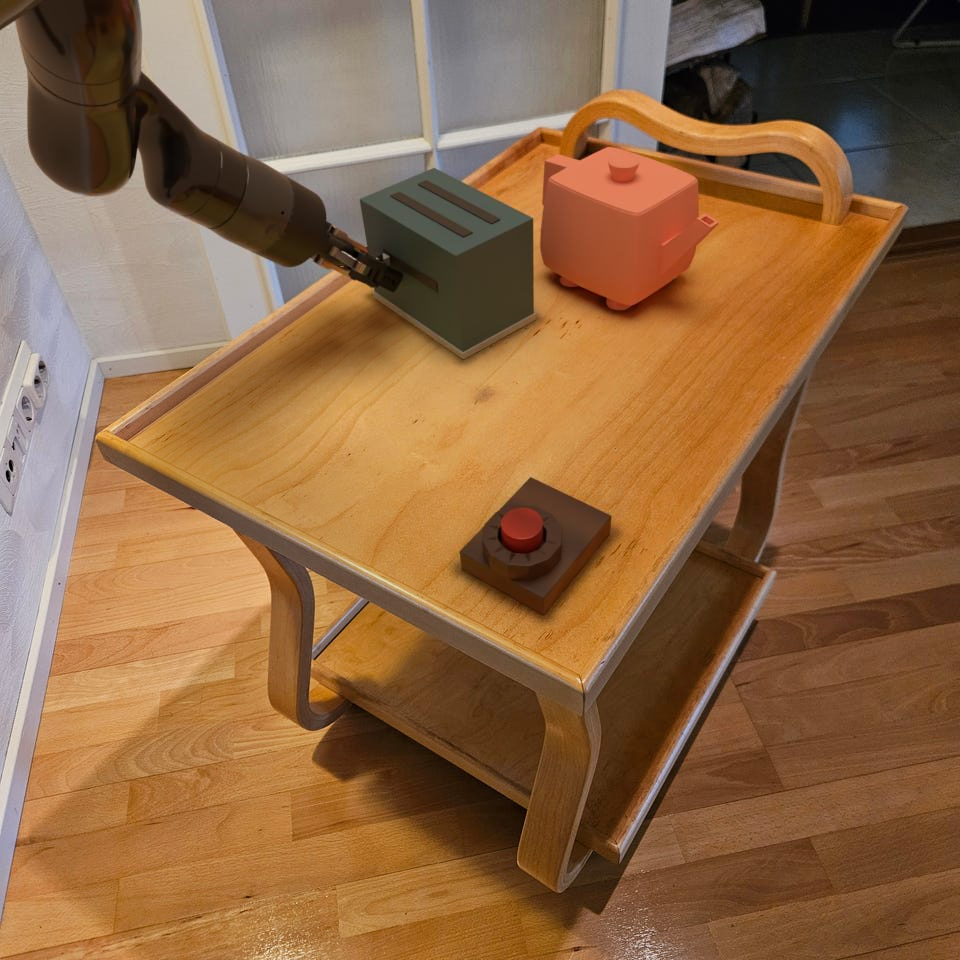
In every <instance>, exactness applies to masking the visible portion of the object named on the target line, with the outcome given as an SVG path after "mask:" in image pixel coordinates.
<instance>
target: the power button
mask: <svg viewBox="0 0 960 960" xmlns="http://www.w3.org/2000/svg"><path fill="white" fill-rule="evenodd" d="M501 536H502V542H503V544H504V546H505V547H506V548H507V549H508V550H510V551H512V552H515V553H530V552H532V551H534V550H536V549H537V548H538V547H539V546H540V545H541V543H542V541H543V520H542V518H541V516H540V515H539V514H538V513H537V512H536V511H534V510H532V509H528V508H516V509H513V510H510V511H509V512H507V513H506V514H505V515H504V516H503V518H502V520H501Z"/></svg>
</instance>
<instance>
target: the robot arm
mask: <svg viewBox="0 0 960 960" xmlns="http://www.w3.org/2000/svg"><path fill="white" fill-rule="evenodd" d="M141 14H142V13H141V8H140V0H0V32H1V31H2V30H3V29H5V28H7V27H8V26H9V25H11V24H13V23H15V27H16V33H17V36H18V41H19V45H20V49H21V54H22V57H23V58H22V59H23V61H24V64H25V68H26V76H27V96H26V97H27V99H26V126H27V127H26V129H27V130H26V131H27V133H26V134H27V142H28V149H29V152H30V155H31V157H32V159H33V161H34V163H35V165H37V167H38V168H39V170H40V171H41V172H42V173H43V174H44V175H45V176H46V177H47V178H48V179H49V180H50V181H52V182H53V183H54V184H55V185H57V186H59V187H60V188H62V189H64V190H65V191H67V192H70V193H73V194H76V195H79V196H84V197H94V198H95V197H103V196H104V197H105V196H109V195H112V194H114V193H117V192H119V191H120V190H121V189H123V188H124V187H125V186H126V185H127V184H128V183H129V182H130V180H131V179H132V177H133V175H134V173H135V172H134V171H135V168H136V163H137V162H136V161H137V157H138V156H137V155H138V152H139V155H140V159H141V165H142V172H143V179H144V184H145V188H146V191H147V193H148V195H149V197H150V198H151V199H152V200H153V201H154V202H155V203H156V204H157V205H159V206H160V207H162V208H164V209H166V210H168V211H170V212H171V213H174V214H177V215H179V216H180V217H183V218H184V219H186V220H189V221H191V222H193V223H195V224H198V225H199V226H202V227H205V228H206V229H208V230H210V231H212V233H214V234H216V235H217V236H218V237H220V238H222V239H223V240H225V241H227V242H230V243H231V244H234V245H236V246H238V247H241V248H242V249H244V250H246V251H249V252H250V253H252V254H255V255H258V256H259V257H262V258H263V259H266V260H268V261H269V262H272V263H274V264H276V265H279V266H281V267H284V268H295V267H298V266H300V265H302V264H304V263H305V262H307V261H308V260H309V259H311V260H312V262H313V263H315V264H316V265H318V266H320V267H321V268H323V269H326V270H333V271H335V272H337V273H339V274H341V275H343V276H345V277H347V278H349V279H351V280H353V281H354V282H356V281H357V282H360V283H362V284H364V285H366V284H367V285H366V286H368V285H370V286H371V287H372V289H374V287H375V288H378V286H381V287H383V288H385V289H387V290H389V291H391V292H395V291H396V290H397V288H398V286H399V284H400V282H401V281H402V279H403V274H402V273H400V272H399V271H397V270H395V269H393V268H391V267H390V266H388V265H386V263H385V262H383V261H380V259H379V258H378V257H376V258H375V257H373V256H371V255H369V254H368V249H367V248H366V247H367V246H364V245H363V244H362V243H360V242H358V241H356V240H355V239H353V238H351V237H349V236H348V234H347V233H346V232H345V231H343V230H342V229H341V228H339V227H337V226H335V225H333V224H332V223H331V222H329V221H328V220H327V210H326V206H325V204H324V201H323V199H322V198H321V197H320V195H318V194H317V193H316V192H314V191H313V190H311V189H309V188H308V187H306V186H304V185H303V184H301V183H299V182H298V181H296V180H295V179H292V178H290V177H289V176H287V175H286V174H284V173H282V172H280V171H279V170H277V169H275V168H274V167H271V166H270V165H269V164H266V163H265V162H263V161H261V160H259V159H257V158H255V157H252V156H249V155H247V154H244V153H242V152H240V151H238V150H236V149H234V148H233V147H231V146H229V145H228V144H227V143H224V142H222V141H221V140H219V139H218V138H215V137H214V136H212V135H210V134H209V133H207V132H205V131H203V129H201V128H200V127H199V126H197V124H195V123H194V122H193V121H192V120H191V119H190V118H189V116H188V115H187V114H186V113H185V112H184V111H183V110H182V109H181V108H180V107H179V106H177V105H176V104H175V103H174V102H173V101H172V100H171V99H170V98H169V97H168V96H167V94H166V93H165V92H163V90H161V88H160V87H158V85H156V84H155V82H154V81H153V80H152V79H151V78H150V77H149V76H148V75H146V74H145V73H144V72H143V71H142V54H143V53H142V52H143V51H142V50H143V46H142V45H143V28H142V27H143V26H142V15H141ZM371 287H370V288H371Z"/></svg>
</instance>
